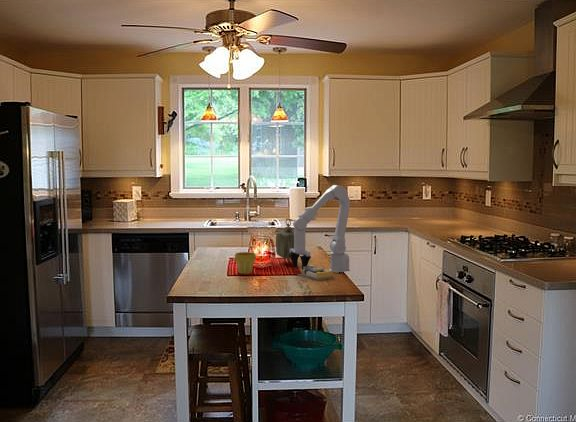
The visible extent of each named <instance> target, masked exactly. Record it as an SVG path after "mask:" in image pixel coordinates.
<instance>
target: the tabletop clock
mask: <svg viewBox="0 0 576 422" xmlns="http://www.w3.org/2000/svg"><path fill="white" fill-rule="evenodd" d="M287 221H289V223H287ZM291 221H292V220H291V219H290V218H286V219H285V225H286V227H284V228H283V230H281V231H278V232H276V234H275V250H276V251H275V252H276V255H278V257H281V258H283V261H282V264H284V265H285V264H287V263H286V262H290V261H291V258H290V256H289V254H291V253H290V249H294V230H293V228H292V227H291V224H292V222H291ZM300 256H301V255H300V254H299V257H300ZM299 257H298V258H299Z"/></svg>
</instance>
